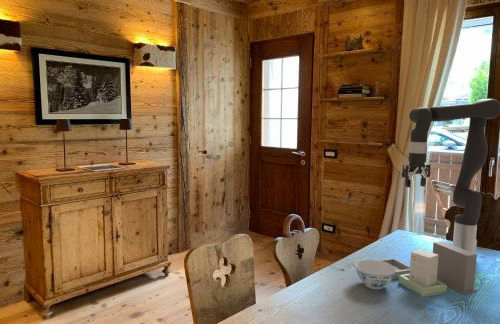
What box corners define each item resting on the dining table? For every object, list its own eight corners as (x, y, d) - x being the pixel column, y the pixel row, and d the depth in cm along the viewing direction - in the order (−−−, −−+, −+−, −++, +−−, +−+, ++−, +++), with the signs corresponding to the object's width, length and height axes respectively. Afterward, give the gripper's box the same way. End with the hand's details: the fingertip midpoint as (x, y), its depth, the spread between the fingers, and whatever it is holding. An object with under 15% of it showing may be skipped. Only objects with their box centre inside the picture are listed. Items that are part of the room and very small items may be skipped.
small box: (436, 286, 150) (439, 254, 148) (427, 291, 146) (430, 257, 144) (416, 279, 156) (419, 248, 154) (408, 283, 152) (410, 251, 151)
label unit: (440, 274, 164) (443, 240, 162) (476, 291, 148) (480, 254, 146) (427, 276, 161) (430, 242, 160) (462, 294, 146) (466, 256, 144)
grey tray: (393, 264, 174) (393, 258, 173) (414, 275, 161) (415, 269, 161) (373, 267, 170) (373, 260, 169) (393, 279, 158) (394, 272, 157)
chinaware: (396, 282, 155) (397, 263, 154) (392, 297, 142) (394, 277, 141) (357, 275, 161) (358, 257, 160) (351, 289, 148) (352, 270, 147)
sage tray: (420, 278, 159) (420, 271, 158) (446, 292, 147) (446, 285, 146) (398, 282, 155) (399, 275, 155) (423, 296, 143) (424, 289, 142)
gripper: (423, 150, 182) (421, 184, 184) (399, 151, 177) (397, 186, 179) (436, 152, 175) (433, 187, 177) (411, 152, 170) (408, 189, 172)
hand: (415, 186), depth 178 cm, fingers open, 8 cm apart
